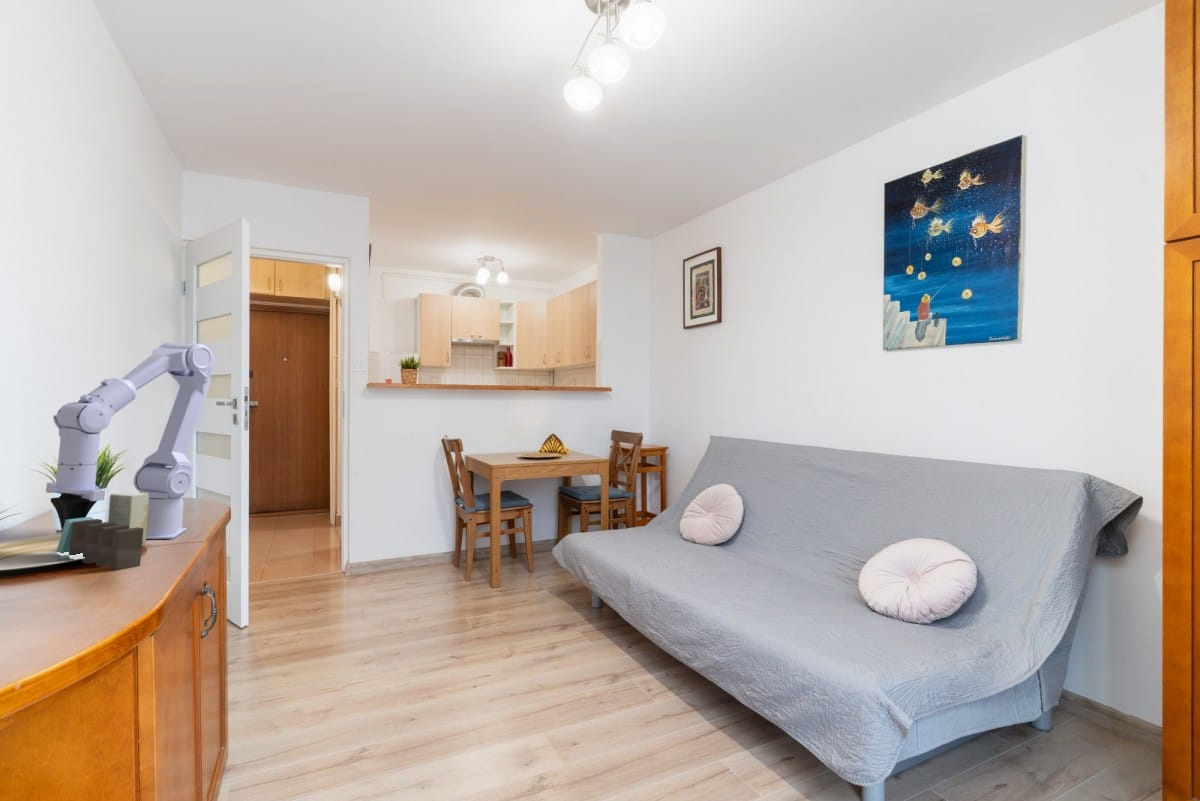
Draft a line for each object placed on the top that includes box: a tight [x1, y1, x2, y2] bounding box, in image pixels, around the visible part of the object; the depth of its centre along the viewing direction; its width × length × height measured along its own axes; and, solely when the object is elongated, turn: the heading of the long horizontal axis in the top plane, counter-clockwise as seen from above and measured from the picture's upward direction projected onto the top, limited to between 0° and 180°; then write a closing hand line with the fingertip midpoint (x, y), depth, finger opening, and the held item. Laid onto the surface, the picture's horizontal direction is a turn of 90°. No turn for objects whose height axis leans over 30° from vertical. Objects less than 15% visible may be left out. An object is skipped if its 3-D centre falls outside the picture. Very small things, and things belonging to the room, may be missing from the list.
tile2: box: [69, 518, 103, 555], centre depth 110 cm, size 2×4×7 cm, turn 160°
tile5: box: [109, 527, 144, 572], centre depth 106 cm, size 2×4×7 cm, turn 160°
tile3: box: [81, 521, 116, 564], centre depth 109 cm, size 2×4×7 cm, turn 161°
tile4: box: [95, 524, 129, 568], centre depth 107 cm, size 2×4×7 cm, turn 161°
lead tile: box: [56, 516, 94, 553], centre depth 111 cm, size 2×4×7 cm, turn 159°
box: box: [107, 491, 149, 547], centre depth 119 cm, size 5×4×11 cm
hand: (71, 533), depth 111 cm, fingers closed
